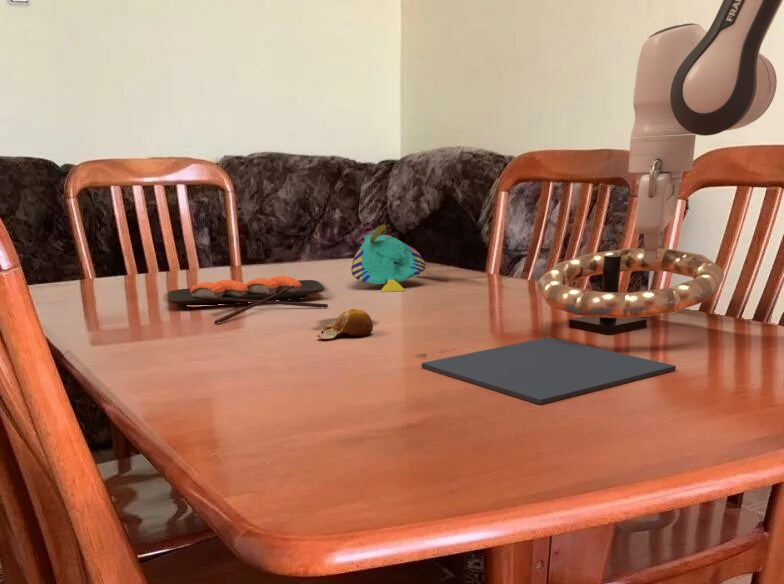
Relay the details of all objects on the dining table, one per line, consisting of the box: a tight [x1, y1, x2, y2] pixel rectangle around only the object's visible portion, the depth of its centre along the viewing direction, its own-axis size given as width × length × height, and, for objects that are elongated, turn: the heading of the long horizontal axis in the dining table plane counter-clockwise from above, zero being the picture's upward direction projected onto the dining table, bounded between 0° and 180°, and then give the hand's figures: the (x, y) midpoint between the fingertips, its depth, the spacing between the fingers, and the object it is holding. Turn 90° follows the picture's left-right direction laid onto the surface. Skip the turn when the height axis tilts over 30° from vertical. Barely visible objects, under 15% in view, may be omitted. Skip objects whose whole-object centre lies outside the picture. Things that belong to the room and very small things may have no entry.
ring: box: [537, 248, 725, 318], centre depth 117 cm, size 24×24×3 cm
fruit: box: [316, 308, 374, 340], centre depth 125 cm, size 8×8×4 cm
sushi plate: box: [167, 275, 329, 324], centre depth 151 cm, size 29×30×4 cm
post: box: [568, 255, 648, 336], centre depth 121 cm, size 8×8×10 cm
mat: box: [421, 336, 677, 406], centre depth 103 cm, size 22×22×1 cm
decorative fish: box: [351, 224, 427, 293], centre depth 167 cm, size 20×12×15 cm
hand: (651, 259), depth 124 cm, fingers closed on ring, 3 cm apart
